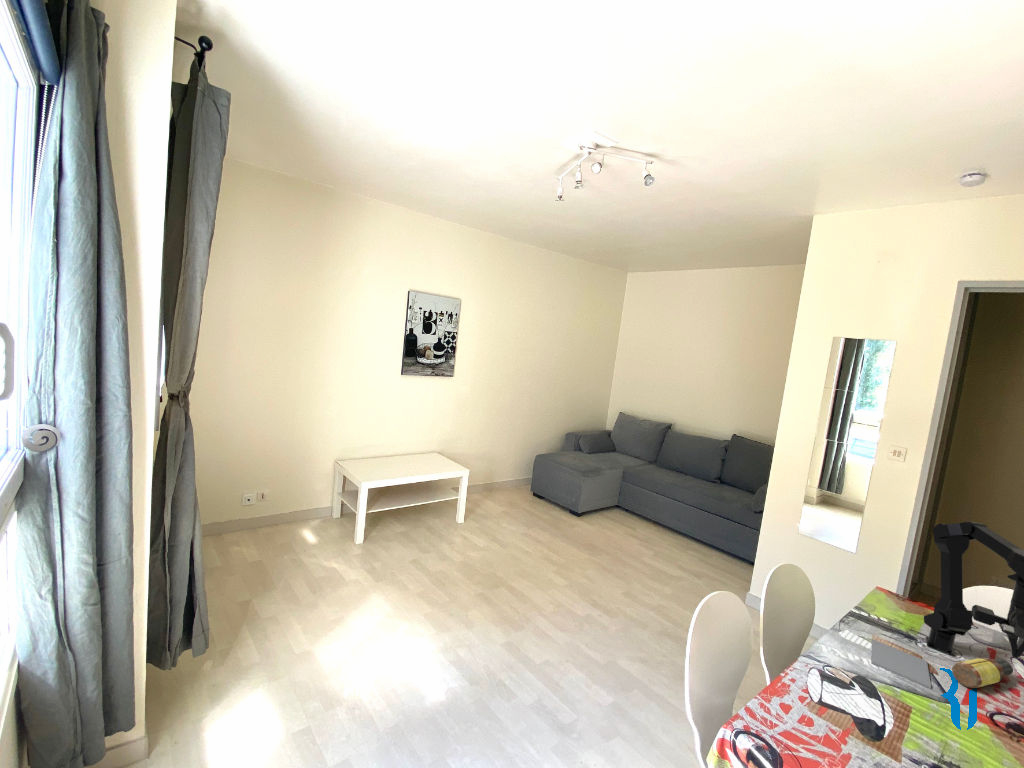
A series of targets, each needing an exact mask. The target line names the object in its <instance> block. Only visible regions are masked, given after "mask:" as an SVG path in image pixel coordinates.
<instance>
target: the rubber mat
mask: <svg viewBox="0 0 1024 768" xmlns="http://www.w3.org/2000/svg"><path fill="white" fill-rule="evenodd" d="M870 657H871V660H870V661H871V664H872V665H874V666H876V667H879V668H881V669H883V670H885V671H888V672H891V673H893V674H895V675H897V676H900V677H902V678H904V679H907V680H909V681H911V682H914V683H915V684H916V683H917V684H918V685H921V686H923V687H926V688H928V689H930V690H931V689H932V685H931V678H930V671H929V665H928V660H926V659H923V658H921V657H918V656H915V655H913V654H911V653H907V652H905V651H903V650H901V649H898V648H896V647H892V646H890V645H887V644H885V643H883V642H880V641H877V640H875V639H873V638H872V641H871V656H870Z"/></svg>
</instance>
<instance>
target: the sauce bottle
mask: <svg viewBox="0 0 1024 768" xmlns="http://www.w3.org/2000/svg"><path fill="white" fill-rule="evenodd" d="M951 671H952V672H951V673H952V675H953V678H955V680H957V682H958V683H960V685H962V686H964V687H966V688H971V689H972V688H973V689H975V688H976V689H977V688H982V687H986V686H989V685H993V684H997V683H999V682H1000V681H1002V680H1003V679H1004V678H1005V677H1006V676H1010V675H1012V674H1013V673H1014V667H1013V666H1012V664H1011V663H1010V662H1009V661H1007V660H1006V659H1003V658H996V659H991V658H988V657H978V658H973V659H967V660H962V661H958V662H956V663H954V664H953V665H952V667H951Z"/></svg>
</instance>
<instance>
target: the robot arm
mask: <svg viewBox="0 0 1024 768" xmlns="http://www.w3.org/2000/svg"><path fill="white" fill-rule="evenodd" d="M932 534H933V535H932V536H933V542H934V544H935V545H936V547H937V548H938V550H939V551H940V598H939V600H937V602H936V603H935V604H934V606H933V607H934V608H933V612H931V613H929V614H926V615H923V623H924V624H925V625H926V626H927V627H929V628H930V631H929V635H928V636H925V642H926V646H927V647H928V648H931V649H934V650H936V651H938V652H940V653H944V654H946V655H949V656H952V657H955V656H956V654H955V650H954V644H955V640H956V635H959V636H965V635H966V634H967V633H968V632H970V631H971V629H972V626H974V622H973V620H974V621H976V622H979V623H982V624H984V625H987V626H993V625H996V624H998V627H999V628H1000V630H1001V632H1002V633H1003V634H1006V636H1007V639H1008V643H1009V648H1010V652H1011V656H1012V658H1015V659H1018V658H1019V657H1020V656H1021V655H1023V654H1024V549H1021V548H1020V547H1019V546H1017V545H1015V544H1014V543H1013V542H1010V541H1009V540H1008V539H1006V538H1005V537H1002V536H1001V535H1000V534H998V533H997V532H995V531H994V530H992V529H990V528H989V527H988V526H987V525H986V524H984V523H982V522H974V521H963V522H958V523H957V522H956V523H946V524H945V523H938V524H936V525H935V526H933V528H932ZM972 541H977V542H979V543H981V544H982V545H983V546H985V547H986V548H988V549H990V551H992V552H994V553H995V554H996V555H998V556H999V557H1001V558H1003V559H1004V560H1005V562H1006V563H1007V566H1008V567H1009V568H1010V570H1012V571H1013V572H1014V574H1007V578H1008V579H1010V580H1012V581H1014V582H1015V583H1014V586H1013V590H1012V591H1013V592H1012V596H1011V599H1010V605H1009V608H1008V613H1007V615H1006V617H1003V616H1000V615H997V614H995V612H994V611H993V609H990V608H988V607H984V606H981V605H979V604H975V605H972V606H971V610H970V609H967V607H966V604H964V599H963V598H964V597H963V596H964V593H963V592H964V591H963V590H964V588H963V585H964V584H963V582H964V581H963V555H964V554H965V553H966V551H967V550H968V549H969V548H970V547H969V546H970V542H972Z"/></svg>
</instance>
